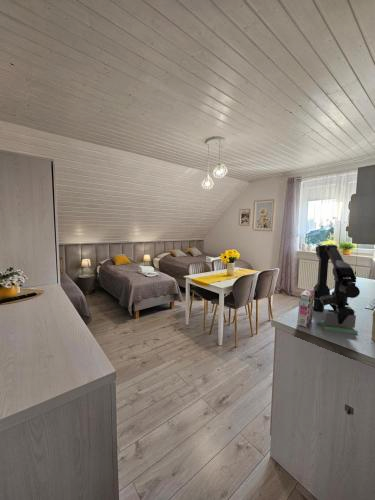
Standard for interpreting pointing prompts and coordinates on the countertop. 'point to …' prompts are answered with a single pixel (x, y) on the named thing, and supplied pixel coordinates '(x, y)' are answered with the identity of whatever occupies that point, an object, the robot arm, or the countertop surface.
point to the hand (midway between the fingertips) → (338, 321)
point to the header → (338, 328)
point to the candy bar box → (305, 308)
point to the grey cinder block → (332, 319)
